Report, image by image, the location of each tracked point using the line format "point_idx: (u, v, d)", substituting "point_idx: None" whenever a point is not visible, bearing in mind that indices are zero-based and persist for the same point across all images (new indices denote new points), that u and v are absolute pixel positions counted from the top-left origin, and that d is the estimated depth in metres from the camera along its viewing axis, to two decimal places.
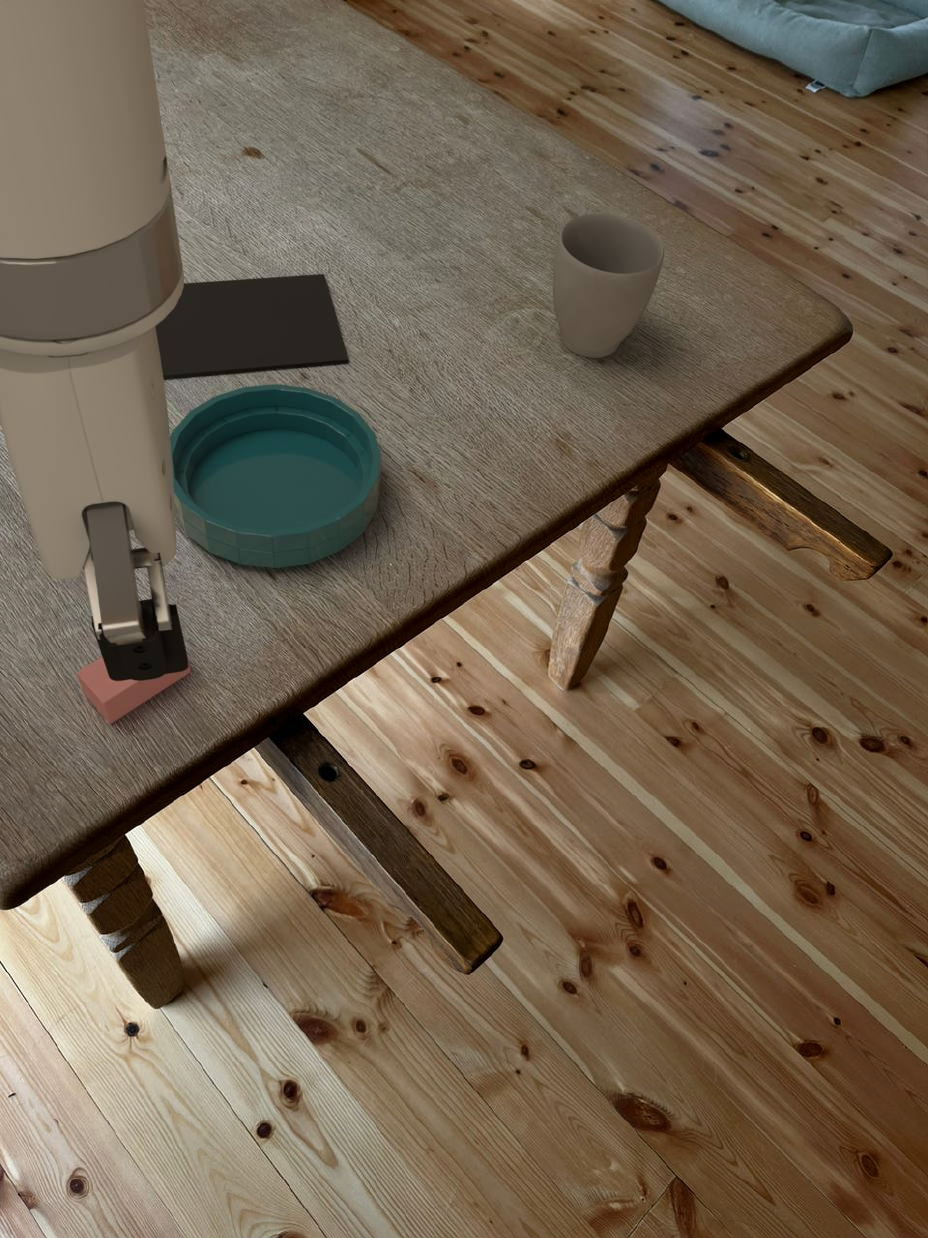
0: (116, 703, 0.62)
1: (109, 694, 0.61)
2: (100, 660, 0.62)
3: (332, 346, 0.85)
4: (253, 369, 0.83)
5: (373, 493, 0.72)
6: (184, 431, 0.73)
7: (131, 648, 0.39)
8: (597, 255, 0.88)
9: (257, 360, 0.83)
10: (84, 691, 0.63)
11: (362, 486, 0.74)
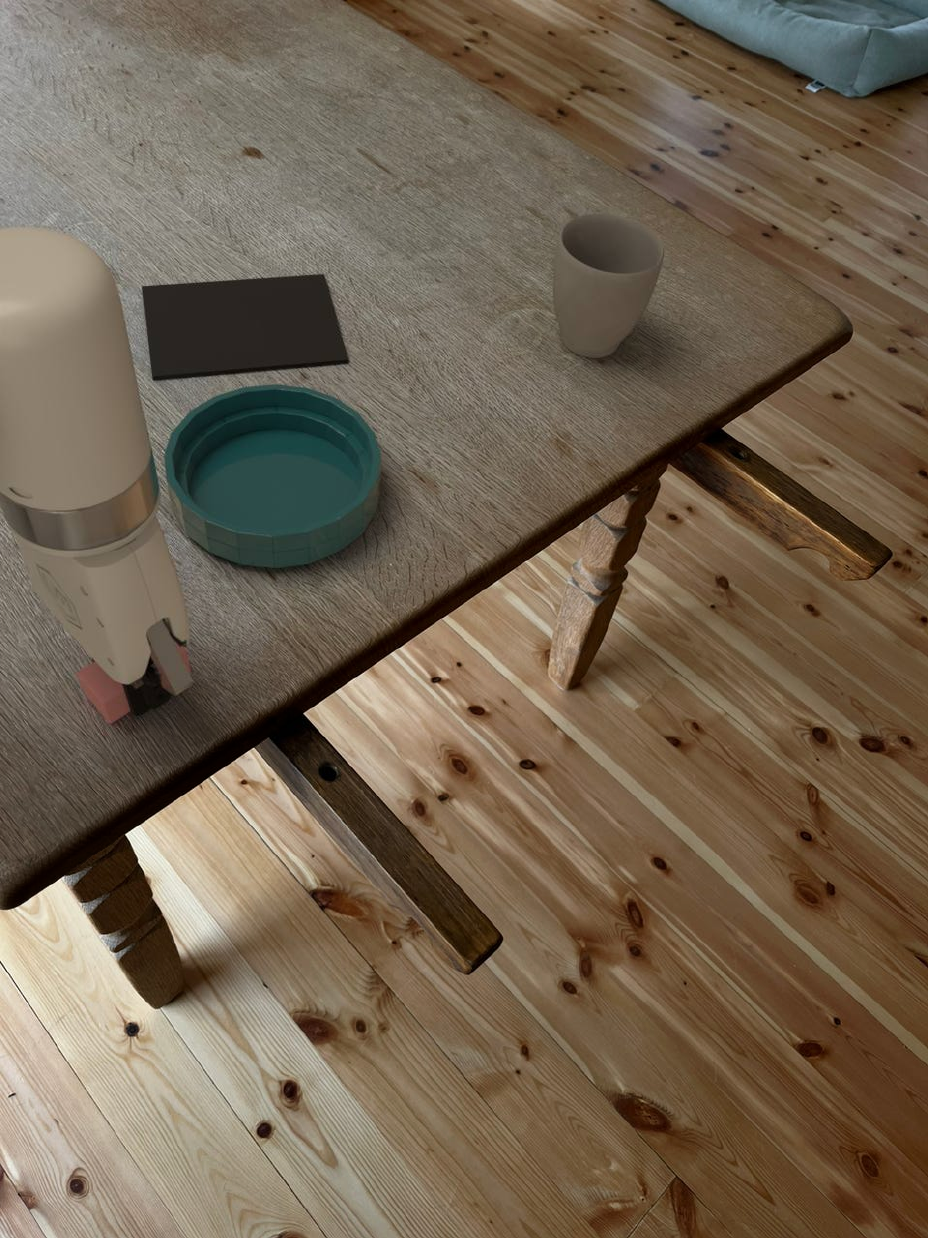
0: (116, 703, 0.62)
1: (109, 694, 0.61)
2: None
3: (332, 346, 0.85)
4: (253, 369, 0.83)
5: (373, 493, 0.72)
6: (184, 431, 0.73)
7: (152, 687, 0.61)
8: (597, 255, 0.88)
9: (257, 360, 0.83)
10: (84, 691, 0.63)
11: (362, 486, 0.74)
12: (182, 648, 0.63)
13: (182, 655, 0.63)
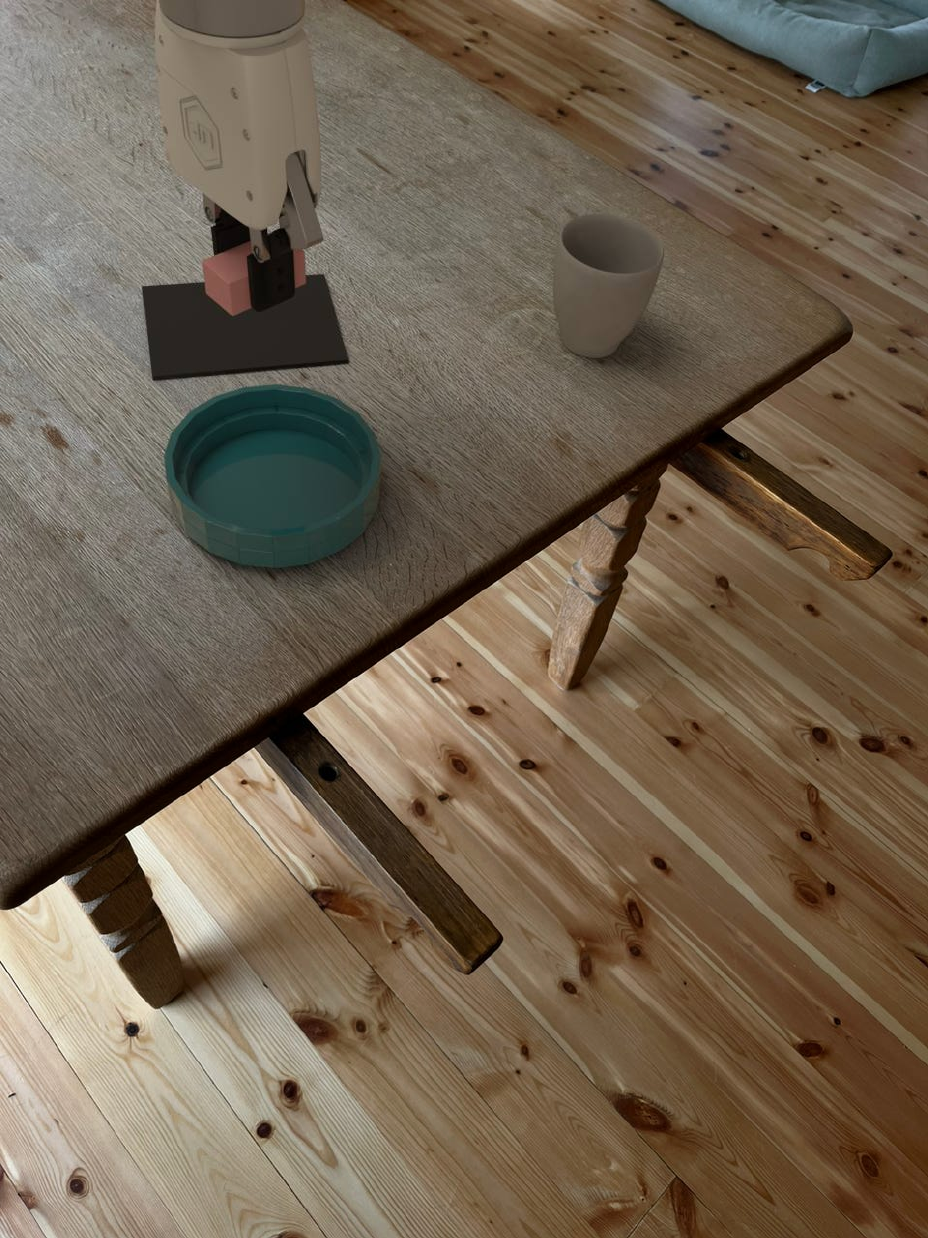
0: (240, 289, 0.64)
1: (234, 277, 0.63)
2: (224, 253, 0.65)
3: (332, 346, 0.85)
4: (253, 369, 0.83)
5: (373, 493, 0.72)
6: (184, 431, 0.73)
7: (275, 270, 0.63)
8: (597, 255, 0.88)
9: (257, 360, 0.83)
10: (207, 287, 0.65)
11: (362, 486, 0.74)
12: (301, 249, 0.66)
13: (301, 256, 0.66)
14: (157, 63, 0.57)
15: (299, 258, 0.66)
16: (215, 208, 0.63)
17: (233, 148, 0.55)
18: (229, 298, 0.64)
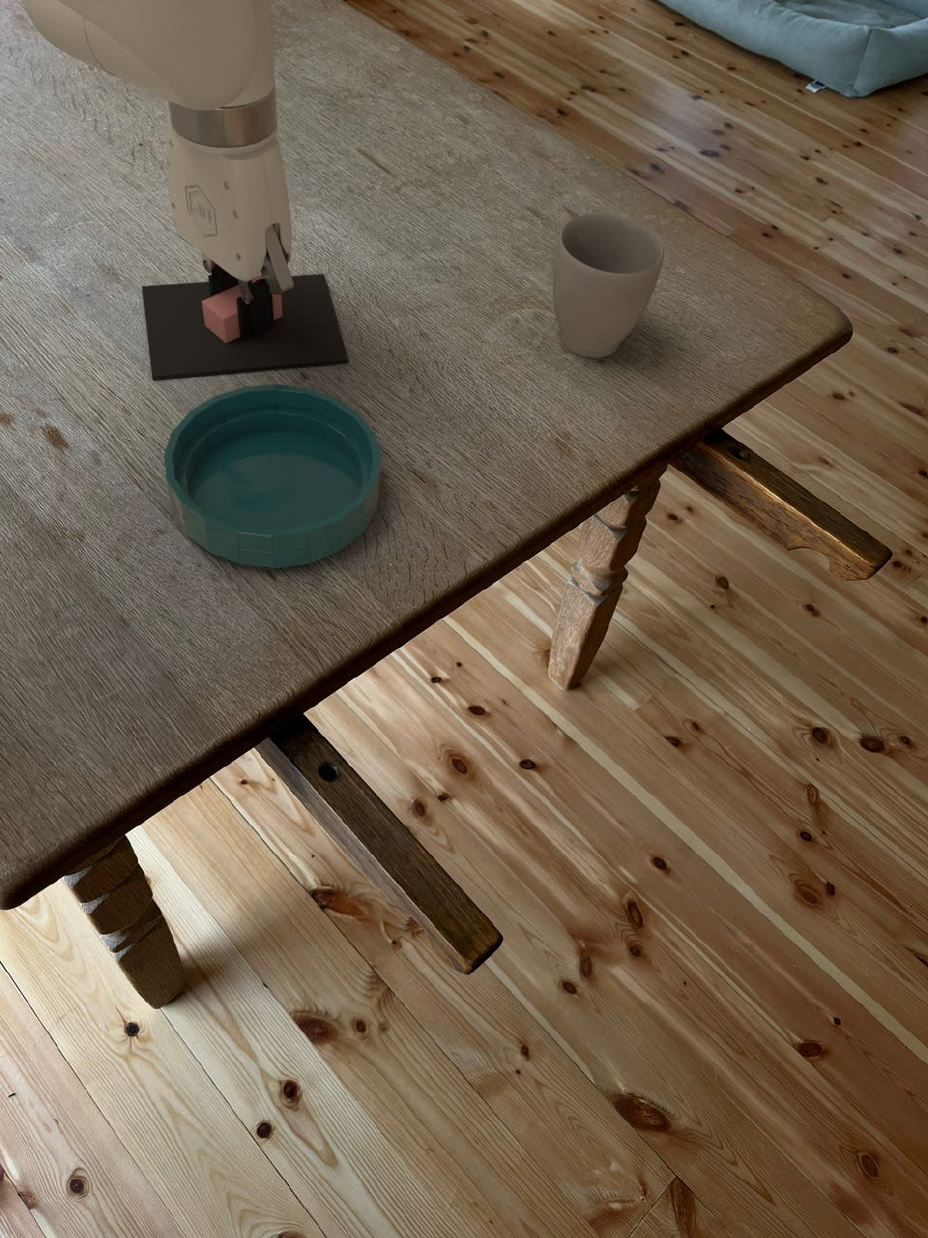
0: (232, 323, 0.83)
1: (227, 314, 0.83)
2: (218, 294, 0.84)
3: (332, 346, 0.85)
4: (253, 369, 0.83)
5: (373, 493, 0.72)
6: (184, 431, 0.73)
7: (258, 308, 0.83)
8: (597, 255, 0.88)
9: (257, 360, 0.83)
10: (206, 320, 0.85)
11: (362, 486, 0.74)
12: None
13: (278, 295, 0.85)
14: (167, 158, 0.76)
15: (276, 297, 0.85)
16: (211, 262, 0.82)
17: (225, 223, 0.74)
18: (223, 330, 0.83)
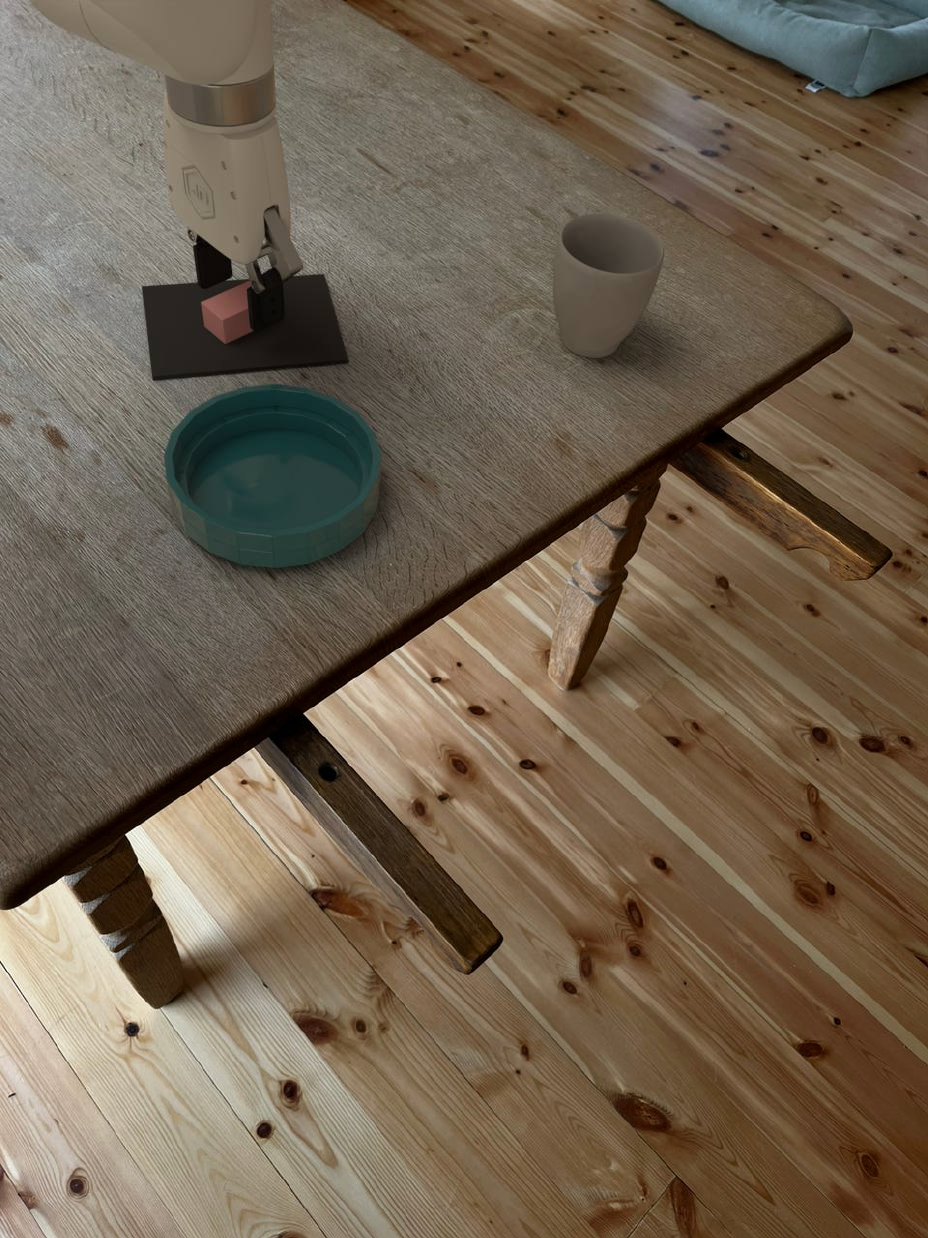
0: (231, 324, 0.83)
1: (226, 314, 0.83)
2: (218, 295, 0.84)
3: (332, 346, 0.85)
4: (253, 369, 0.83)
5: (373, 493, 0.72)
6: (184, 431, 0.73)
7: (269, 299, 0.80)
8: (597, 255, 0.88)
9: (257, 360, 0.83)
10: (205, 321, 0.85)
11: (362, 486, 0.74)
12: None
13: None
14: (164, 139, 0.75)
15: None
16: (198, 235, 0.81)
17: (223, 204, 0.73)
18: (222, 331, 0.83)
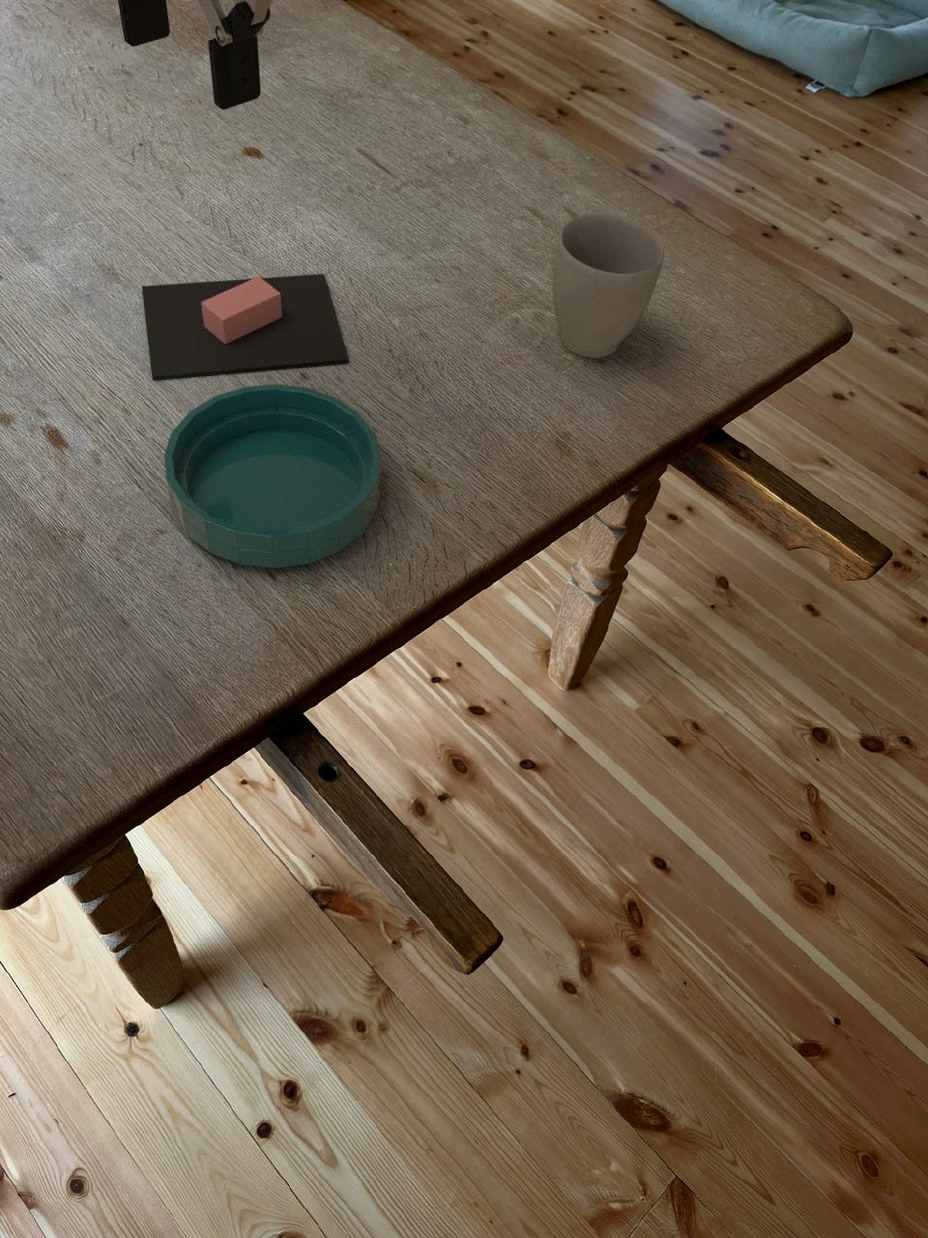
0: (231, 324, 0.83)
1: (226, 314, 0.83)
2: (218, 295, 0.84)
3: (332, 346, 0.85)
4: (253, 369, 0.83)
5: (373, 493, 0.72)
6: (184, 431, 0.73)
7: (239, 58, 0.60)
8: (597, 255, 0.88)
9: (257, 360, 0.83)
10: (205, 321, 0.85)
11: (362, 486, 0.74)
12: (277, 291, 0.85)
13: (277, 296, 0.85)
14: None
15: (276, 298, 0.85)
16: None
17: None
18: (222, 331, 0.83)
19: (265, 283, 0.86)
